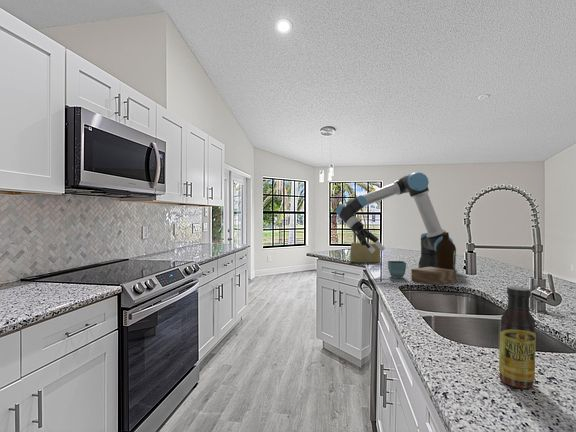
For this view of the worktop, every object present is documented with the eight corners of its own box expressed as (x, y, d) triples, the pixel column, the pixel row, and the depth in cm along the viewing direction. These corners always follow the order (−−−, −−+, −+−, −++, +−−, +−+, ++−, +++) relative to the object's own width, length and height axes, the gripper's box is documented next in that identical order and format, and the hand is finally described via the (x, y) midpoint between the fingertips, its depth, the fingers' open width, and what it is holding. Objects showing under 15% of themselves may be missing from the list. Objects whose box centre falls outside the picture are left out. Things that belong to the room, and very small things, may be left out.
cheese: (350, 262, 261) (350, 242, 261) (350, 261, 271) (350, 242, 271) (380, 263, 257) (380, 242, 257) (379, 261, 266) (379, 242, 266)
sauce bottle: (502, 387, 70) (501, 289, 70) (496, 374, 76) (494, 284, 76) (541, 393, 68) (539, 291, 68) (531, 379, 74) (530, 285, 74)
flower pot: (403, 276, 200) (402, 260, 200) (406, 279, 191) (406, 262, 191) (387, 276, 201) (387, 260, 201) (390, 279, 192) (390, 262, 192)
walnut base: (430, 277, 196) (430, 266, 196) (456, 281, 182) (456, 270, 182) (411, 280, 187) (411, 269, 187) (438, 285, 174) (437, 273, 174)
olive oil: (436, 276, 198) (435, 232, 198) (436, 273, 207) (435, 231, 207) (456, 277, 193) (456, 232, 193) (456, 274, 203) (455, 232, 203)
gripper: (360, 228, 223) (383, 253, 214) (341, 230, 204) (365, 257, 194) (368, 220, 220) (391, 244, 211) (349, 221, 200) (373, 248, 191)
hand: (378, 250), depth 202 cm, fingers open, 13 cm apart
